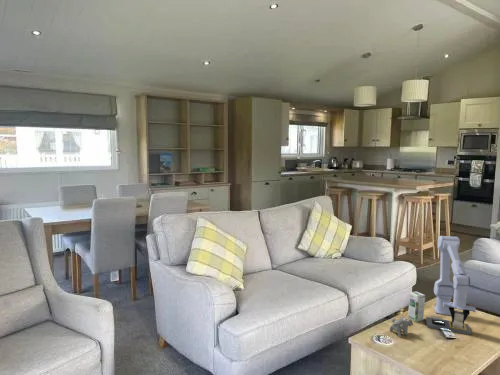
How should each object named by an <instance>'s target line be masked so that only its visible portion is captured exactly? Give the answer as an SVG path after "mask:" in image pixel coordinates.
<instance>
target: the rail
mask: <svg viewBox="0 0 500 375" xmlns="http://www.w3.org/2000/svg"><path fill="white" fill-rule="evenodd" d="M434 321H442V322H444V324H445V326H444V324H443V325H442V324H441V325H440V324H436V323H435V322H434ZM425 322H426V327H427V328H428V329H434V330H439V329H440V328H447V329H449V330H451V331H453V332H452V333H456V334H462V335H466V336H467V335H468V336H472V331H471V328H470V325H469V324H468V323H466V322H464V324H463V328H462V329H460V328H454V327H453V322H452V320H446V319H440V318H435V317H429V316H426V317H425Z"/></svg>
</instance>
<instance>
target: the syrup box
mask: <svg viewBox="0 0 500 375" xmlns="http://www.w3.org/2000/svg"><path fill="white" fill-rule="evenodd" d="M425 303H426V294H423V293H421V292H418V291H412V292H409V301H408V311H407V312H408V313H407V318H408V320H412V322H416V323H417V322H422V321H424V314H425V313H424V312H425Z"/></svg>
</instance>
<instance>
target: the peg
mask: <svg viewBox="0 0 500 375" xmlns="http://www.w3.org/2000/svg"><path fill="white" fill-rule="evenodd" d="M454 311H455V314H454V323H453V326H452V327H454V328H460V329H463V317H464V314H463V311H462V310H456V309H455V310H454Z"/></svg>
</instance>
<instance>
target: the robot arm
mask: <svg viewBox="0 0 500 375" xmlns="http://www.w3.org/2000/svg"><path fill="white" fill-rule="evenodd" d="M460 242H461V240H460V238H459V237H458V236H448V235H447V236H445V235H440V236H439V237H438V238H437V250H438V251H440V256H439V257H440V263H439V264H440V265H439V266H440V268H439V269H440V270H439V271H440V272H439V278H438V279H437V280H436V281H435V282H434V286H433V293H434V295H435V296H436V299H435V300H436V303H435V305H434V306H433V307H434V312H435V313H436V314H439V315H440V314H441V315H445V316H451V321H452V322H453V323H454V314H455V311H456V309H457V310H458V311H462V312H463V314H464V317H463V324H464V323H466V320H467V318H468V317H469V315H470V314H471V312H473V313H476V310H477V309H476V307H475V306H470V305H467V295H468V287H469V286H470V285H471V278H470V275H469V274H468V273H467V271H466V268H465V266H464V263H463V261H461V260H460V254H459V249H460V248H459V247H460V246H461V244H460ZM451 269H452V273H453V276H452V277H453V278H452V281H451V279H450V277H451V276H450V275H451ZM451 299H453V302H452V300H451ZM454 310H455V311H454Z"/></svg>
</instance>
